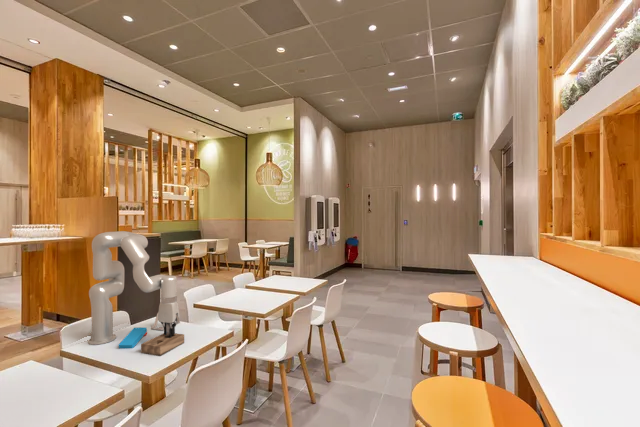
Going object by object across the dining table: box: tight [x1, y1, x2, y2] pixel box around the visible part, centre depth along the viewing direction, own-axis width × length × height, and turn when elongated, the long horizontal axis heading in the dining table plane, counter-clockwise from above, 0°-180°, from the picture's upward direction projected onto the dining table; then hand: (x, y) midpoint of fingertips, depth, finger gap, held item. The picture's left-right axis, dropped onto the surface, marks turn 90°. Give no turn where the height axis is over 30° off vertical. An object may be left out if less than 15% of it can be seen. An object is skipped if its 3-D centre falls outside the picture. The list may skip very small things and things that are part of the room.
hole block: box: [140, 332, 185, 357], centre depth 158 cm, size 12×16×4 cm
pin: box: [166, 323, 172, 338], centre depth 162 cm, size 3×3×10 cm
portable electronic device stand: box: [150, 312, 164, 332], centre depth 186 cm, size 9×8×8 cm
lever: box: [117, 327, 148, 350], centre depth 167 cm, size 7×7×18 cm
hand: (169, 334), depth 162 cm, fingers closed on pin, 2 cm apart
